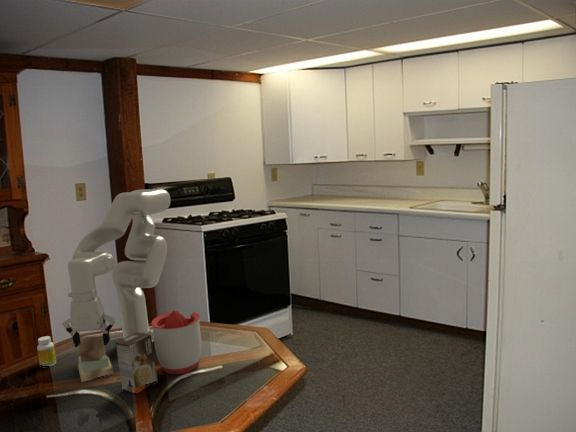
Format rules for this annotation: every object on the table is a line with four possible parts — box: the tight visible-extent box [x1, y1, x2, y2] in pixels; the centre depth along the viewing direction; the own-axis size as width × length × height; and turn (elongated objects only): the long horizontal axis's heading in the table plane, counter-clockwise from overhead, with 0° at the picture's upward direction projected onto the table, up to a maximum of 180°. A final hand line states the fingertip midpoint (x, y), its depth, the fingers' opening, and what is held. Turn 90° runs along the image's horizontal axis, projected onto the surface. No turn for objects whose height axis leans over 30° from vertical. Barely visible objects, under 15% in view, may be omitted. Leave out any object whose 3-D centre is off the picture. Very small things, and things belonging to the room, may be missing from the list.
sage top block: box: [78, 353, 109, 373], centre depth 182 cm, size 8×8×3 cm
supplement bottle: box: [36, 335, 57, 367], centre depth 191 cm, size 5×5×10 cm
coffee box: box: [115, 332, 158, 390], centre depth 169 cm, size 9×6×16 cm
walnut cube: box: [78, 335, 107, 362], centre depth 181 cm, size 6×6×6 cm
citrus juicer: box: [150, 309, 202, 375], centre depth 181 cm, size 16×17×20 cm
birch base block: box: [77, 356, 114, 383], centre depth 182 cm, size 10×10×3 cm
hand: (92, 344), depth 181 cm, fingers open, 9 cm apart
